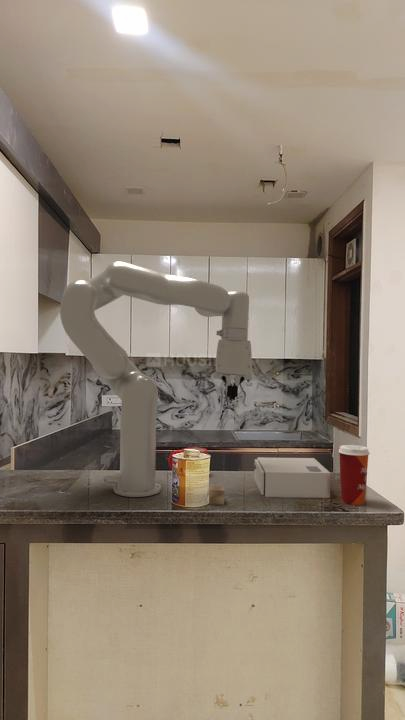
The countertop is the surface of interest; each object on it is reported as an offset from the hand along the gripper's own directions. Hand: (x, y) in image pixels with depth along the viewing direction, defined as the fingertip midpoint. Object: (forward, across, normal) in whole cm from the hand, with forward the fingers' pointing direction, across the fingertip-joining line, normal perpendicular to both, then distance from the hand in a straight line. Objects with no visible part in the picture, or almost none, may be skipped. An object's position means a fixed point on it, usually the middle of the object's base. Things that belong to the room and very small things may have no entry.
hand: (232, 399), depth 134 cm
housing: (+24, +17, -2) cm, 30 cm away
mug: (+25, -12, +11) cm, 30 cm away
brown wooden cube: (+25, -4, -16) cm, 30 cm away
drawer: (+24, +16, -2) cm, 29 cm away
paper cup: (+24, +31, -14) cm, 42 cm away
